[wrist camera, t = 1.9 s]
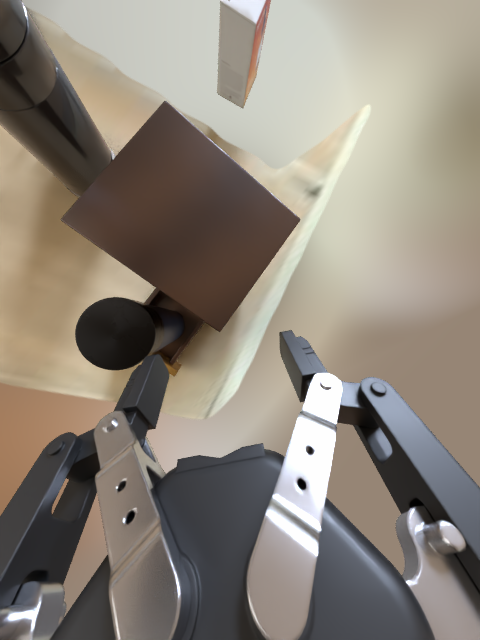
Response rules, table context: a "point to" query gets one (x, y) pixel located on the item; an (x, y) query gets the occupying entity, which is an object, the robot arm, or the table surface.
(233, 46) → the small box
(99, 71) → the table surface
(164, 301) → the drawer
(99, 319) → the thermos
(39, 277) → the table surface
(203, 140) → the cubby
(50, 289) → the table surface
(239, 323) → the table surface
